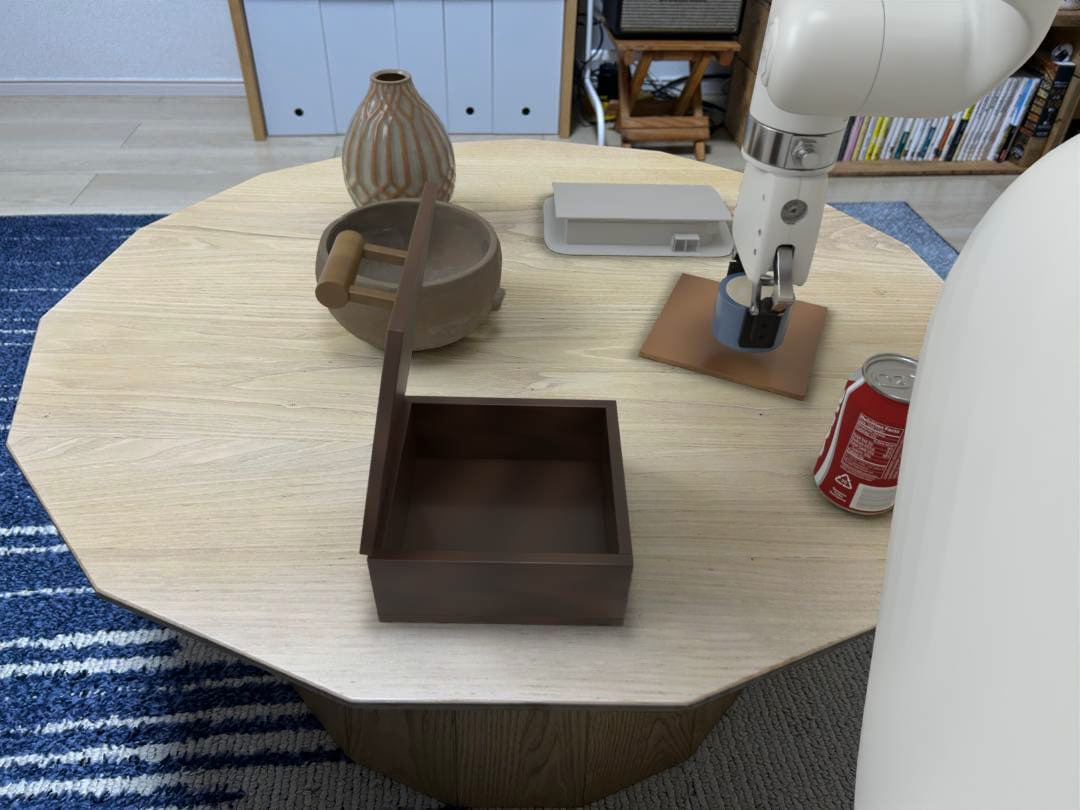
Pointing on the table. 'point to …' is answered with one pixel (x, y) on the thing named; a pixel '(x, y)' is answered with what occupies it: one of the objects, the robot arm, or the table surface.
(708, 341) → the plate
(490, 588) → the chest
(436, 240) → the bowl
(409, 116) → the vase
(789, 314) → the blue beige short cylinder
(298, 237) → the table surface
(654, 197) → the grey plastic case
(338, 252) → the lid
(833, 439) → the soda can
